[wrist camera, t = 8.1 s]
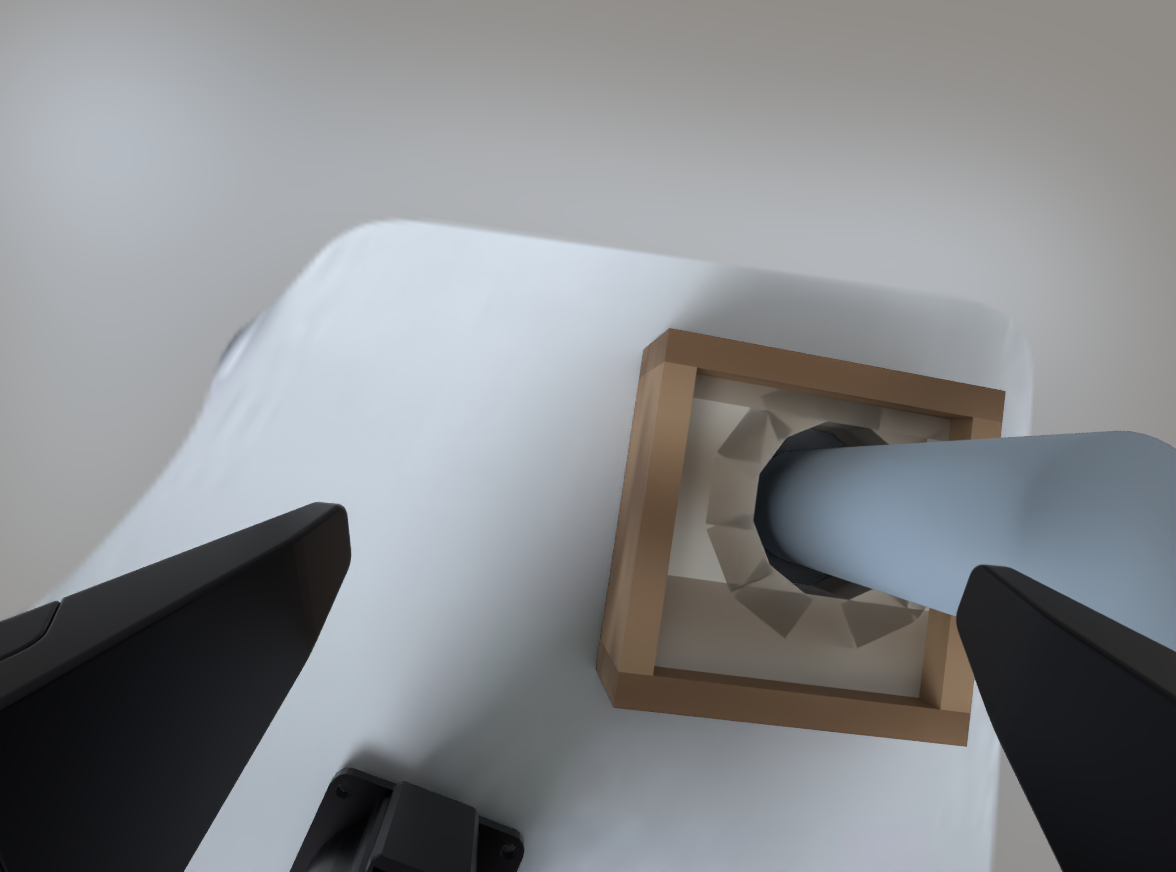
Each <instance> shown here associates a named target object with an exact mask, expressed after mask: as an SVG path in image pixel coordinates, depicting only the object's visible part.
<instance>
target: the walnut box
mask: <svg viewBox="0 0 1176 872" xmlns="http://www.w3.org/2000/svg"><path fill="white" fill-rule="evenodd" d="M1004 400H1005V391H1002V390H997V389H991V388H986V387H981V386H975V385H970V384H965V383H959V382H954V381H949V380H943V379H938V378H933V377H927V376H922V375H917V374H911V373H906V372H901V371H895V370H890V369H885V368H879V367H874V366H869V365H863V364H858V363H853V362H847V361H842V360H836V359H831V358H826V357H820V356H815V355H810V354H804V353H799V352H794V351H788V350H783V349H778V348H772V347H767V346H762V345H756V344H751V343H746V342H740V341H735V340H730V339H724V338H719V337H714V336H708V335H703V334H698V333H692V332H687V331H682V330H676V329H671V328H669V329H668V330H667V331H666V332H664V333H663V334H662V335H661V336H660V337H658V338H657V339H656V340H655V341H654V342H652V343H651V344H650V345H649V346H648V347H646V348H645V349H644V350H643V357H642V364H641V370H640V377H639V384H638V390H637V397H636V404H635V410H634V417H633V424H632V430H631V437H630V444H629V450H628V457H627V464H626V471H625V477H624V484H623V491H622V497H621V504H620V511H619V517H618V524H617V531H616V537H615V544H614V551H613V557H612V564H611V571H610V577H609V584H608V591H607V597H606V604H605V611H604V617H603V624H602V631H601V638H600V644H599V651H598V658H597V664H596V670H597V673H598V675H599V677H600V679H601V681H602V683H603V686H604V688H605V690H606V692H607V694H608V696H609V699H610V701H611V703H612V705H613V707H614V708H622V709H631V710H640V711H649V712H658V713H667V714H676V715H685V716H694V717H704V718H713V719H722V720H731V721H740V722H749V723H758V724H767V725H776V726H785V727H794V728H803V729H812V730H821V731H830V732H839V733H848V734H857V735H866V736H875V737H884V738H893V739H902V740H912V741H921V742H930V743H939V744H948V745H957V746H966V747H967V740H968V730H969V721H970V712H971V703H972V694H973V685H974V675H973V672H972V669H971V666H970V664H969V661H968V658H967V655H966V652H965V650H964V647H963V644H962V641H961V639H960V636H959V633H958V630H957V625H956V616H953V615H950V614H947V613H944V612H941V611H938V610H935V609H932V608H929V607H926V606H923V605H920V604H917V603H914V602H911V601H908V600H905V599H901V598H898V597H895V596H892V595H889V594H886V593H883V592H880V591H877V590H874V589H871V588H868V587H865V586H862V585H859V584H856V583H853V582H850V581H847V580H844V579H841V578H838V577H835V576H832V577H829V578H827V579H825V580H822V581H820V582H818V583H816V584H813V585H804V584H797V583H791V582H790V581H789V580H788V579H787V578H785V577H784V576H783V575H782V574H781V573H779V572H778V571H777V570H776V569H774V568H773V567H772V566H771V565H770V564H769V561H768V558H767V556H766V553H765V550H764V548H763V545H762V543H761V540H760V537H759V535H758V532H757V530H756V527H755V524H754V522H753V518H754V510H755V503H756V495H757V488H758V481H759V474H760V472H761V471H762V470H763V468H764V467H765V466H766V464H767V463H768V462H769V460H770V459H771V458H772V457H773V455H774V454H775V453H776V451H777V450H778V449H779V447H780V446H781V445H782V443H783V442H784V441H785V439H786V438H787V437H789V436H792V435H794V434H797V433H799V432H802V431H804V430H807V429H812V430H818V431H824V432H830V433H832V434H833V435H834V436H835V437H837V438H838V439H839V440H840V441H841V442H842V443H844V444H845V445H846V446H847V447H858V446H875V445H892V444H908V443H925V442H942V441H958V440H975V439H992V438H1000V437H1001V428H1002V419H1003V410H1004Z"/></svg>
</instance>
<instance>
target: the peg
mask: <svg viewBox="0 0 1176 872" xmlns="http://www.w3.org/2000/svg"><path fill="white" fill-rule="evenodd" d="M753 522H754V524H755V527H756V530H757V532H758V535H759V537H760V540H761V543H762V545H763V547H764V548H765V549H767V550H768V551H769V552H770V553H772V554H773V555H775V556H776V557H779V558H781V559H783V560H786V561H789V562H792V563H795V564H798V565H801V566H804V567H807V568H810V569H813V570H816V571H819V572H822V573H825V574H829V575H832V576H835V577H838V578H841V579H844V580H847V581H850V582H853V583H856V584H859V585H862V586H865V587H868V588H871V589H874V590H877V591H880V592H883V593H886V594H889V595H892V596H895V597H898V598H901V599H905V600H908V601H911V602H914V603H917V604H920V605H923V606H926V607H929V608H932V609H935V610H938V611H941V612H944V613H947V614H950V615H953V616H956V613H957V609H958V606H959V604H960V601H961V598H962V595H963V592H964V590H965V587H966V584H967V581H968V578H969V576H970V573H971V571H972V570H973V569H974V567H976V566H978V565H981V564H986V565H996V566H1006V567H1010V568H1013V569H1015V570H1017V571H1019V572H1021V573H1022V574H1024V575H1026V576H1028V577H1030V578H1032V579H1034V580H1036V581H1038V582H1040V583H1042V584H1044V585H1046V586H1048V587H1050V588H1052V589H1054V590H1056V591H1058V592H1060V593H1062V594H1064V595H1066V596H1068V597H1070V598H1072V599H1073V600H1075V601H1077V602H1079V603H1081V604H1083V605H1085V606H1087V607H1089V608H1091V609H1093V610H1095V611H1097V612H1099V613H1101V614H1103V615H1105V616H1107V617H1109V618H1111V619H1113V620H1115V621H1117V622H1119V623H1121V624H1123V625H1124V626H1126V627H1128V628H1130V629H1132V630H1134V631H1136V632H1138V633H1140V634H1142V635H1144V636H1146V637H1148V638H1150V639H1152V640H1154V641H1156V642H1158V643H1160V644H1162V645H1164V646H1166V647H1168V648H1170V649H1172V650H1174V651H1175V652H1176V449H1175V448H1173V447H1172V446H1171V445H1169V444H1167V443H1165V442H1163V441H1161V440H1159V439H1157V438H1154V437H1151V436H1148V435H1145V434H1141V433H1136V432H1130V431H1108V432H1092V433H1075V434H1059V435H1042V436H1025V437H1008V438H992V439H975V440H958V441H942V442H925V443H908V444H892V445H875V446H858V447H841V448H825V449H808V450H794V451H788V452H784V453H782V454H779V455H777V456H775V457H774V458H772V459H771V460H769V462H768V463H767V464H766V466H765V467H764V468H763V470H762V471H761V472H760V474H759V481H758V488H757V495H756V503H755V510H754V518H753Z"/></svg>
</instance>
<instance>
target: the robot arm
mask: <svg viewBox="0 0 1176 872" xmlns="http://www.w3.org/2000/svg"><path fill="white" fill-rule="evenodd" d="M350 562H351V545H350V535H349V525H348V516H347V512H346V509H345V508H344V507H343V506H342V505H340V504H334V503H324V502H315V503H311V504H309V505H306V506H304V507H301V508H298V509H296V510H293V511H290V512H288V513H285V514H283V515H280V516H277V517H275V518H272V519H269V520H267V521H264V522H262V523H259V524H256V525H254V526H251V527H248V528H246V529H243V530H241V531H238V532H235V533H233V534H230V535H227V536H225V537H222V538H220V539H217V540H214V541H212V542H209V543H206V544H204V545H201V546H199V547H196V548H193V549H191V550H188V551H185V552H183V553H180V554H178V555H175V556H172V557H170V558H167V559H164V560H162V561H159V562H157V563H154V564H151V565H149V566H146V567H143V568H141V569H138V570H136V571H133V572H130V573H128V574H125V575H122V576H120V577H117V578H115V579H112V580H109V581H107V582H104V583H101V584H99V585H96V586H94V587H91V588H88V589H86V590H83V591H80V592H78V593H75V594H73V595H70V596H67V597H65V598H63V599H62V601H61V603H60V602H59V601H54V602H51V603H48V604H46V605H43V606H41V607H38V608H35V609H33V610H30V611H28V612H25V613H22V614H20V615H17V616H14V617H11V618H9V619H6V620H3V621H1V622H0V872H184V870H185V869H186V867H187V865H188V863H189V862H190V860H191V858H192V857H193V855H194V853H195V852H196V850H197V848H198V846H199V845H200V843H201V841H202V840H203V838H204V836H205V834H206V833H207V831H208V829H209V828H210V826H211V824H212V822H213V821H214V819H215V817H216V816H217V814H218V812H219V811H220V809H221V807H222V805H223V804H224V802H225V800H226V799H227V797H228V795H229V793H230V792H231V790H232V788H233V787H234V785H235V783H236V781H237V780H238V778H239V776H240V775H241V773H242V771H243V770H244V768H245V766H246V764H247V763H248V761H249V759H250V758H251V756H252V754H253V752H254V751H255V749H256V747H257V746H258V744H259V742H260V740H261V739H262V737H263V735H264V734H265V732H266V730H267V729H268V727H269V725H270V723H271V722H272V720H273V718H274V717H275V715H276V713H277V711H278V710H279V708H280V706H281V705H282V703H283V701H284V699H285V698H286V696H287V694H288V693H289V691H290V689H291V688H292V686H293V684H294V682H295V681H296V679H297V677H298V676H299V674H300V672H301V670H302V669H303V667H304V665H305V663H306V661H307V660H308V658H309V656H310V654H311V652H312V650H313V648H314V646H315V643H316V641H317V639H318V637H319V635H320V632H321V630H322V628H323V626H324V623H325V621H326V619H327V616H328V614H329V612H330V610H331V607H332V605H333V603H334V601H335V598H336V596H337V594H338V592H339V589H340V587H341V585H342V583H343V580H344V578H345V576H346V574H347V571H348V569H349V566H350ZM956 625H957V630H958V633H959V636H960V639H961V641H962V644H963V647H964V650H965V652H966V655H967V658H968V661H969V664H970V666H971V669H972V672H973V675H974V677H975V680H976V683H977V686H978V688H979V691H980V694H981V697H982V700H983V702H984V705H985V708H986V711H987V713H988V716H989V718H990V721H991V723H992V726H993V728H994V731H995V733H996V735H997V737H998V739H999V742H1000V744H1001V746H1002V748H1003V750H1004V752H1005V754H1006V756H1007V758H1008V760H1009V763H1010V764H1011V767H1012V769H1013V771H1014V773H1015V775H1016V777H1017V779H1018V781H1019V783H1020V785H1021V787H1022V789H1023V791H1024V794H1025V796H1026V798H1027V800H1028V802H1029V804H1030V806H1031V808H1032V810H1033V812H1034V814H1035V816H1036V818H1037V820H1038V822H1039V824H1040V827H1041V829H1042V831H1043V833H1044V835H1045V837H1046V839H1047V841H1048V843H1049V845H1050V847H1051V849H1052V851H1053V853H1054V855H1055V857H1056V860H1057V862H1058V864H1059V866H1060V868H1061V870H1062V872H1176V652H1175V651H1174V650H1172V649H1170V648H1168V647H1166V646H1164V645H1162V644H1160V643H1158V642H1156V641H1154V640H1152V639H1150V638H1148V637H1146V636H1144V635H1142V634H1140V633H1138V632H1136V631H1134V630H1132V629H1130V628H1128V627H1126V626H1124V625H1123V624H1121V623H1119V622H1117V621H1115V620H1113V619H1111V618H1109V617H1107V616H1105V615H1103V614H1101V613H1099V612H1097V611H1095V610H1093V609H1091V608H1089V607H1087V606H1085V605H1083V604H1081V603H1079V602H1077V601H1075V600H1073V599H1072V598H1070V597H1068V596H1066V595H1064V594H1062V593H1060V592H1058V591H1056V590H1054V589H1052V588H1050V587H1048V586H1046V585H1044V584H1042V583H1040V582H1038V581H1036V580H1034V579H1032V578H1030V577H1028V576H1026V575H1024V574H1022V573H1021V572H1019V571H1017V570H1015V569H1013V568H1010V567H1006V566H996V565H986V564H981V565H978V566H976V567H974V569H973V570H972V571H971V573H970V576H969V578H968V581H967V584H966V587H965V590H964V592H963V595H962V598H961V601H960V604H959V606H958V609H957V613H956ZM342 782H349V783H350V784H351V785H352V786H353V791H351V792H344V791H342V790H341V789H340V786H339V784H340V783H342ZM507 843H509V844H513V845H514V846H515V849H514V850H513V851H511V852H504V851H503V850H502V849H501V848H502V847H503V845H505V844H507ZM523 854H524V841H523V837H522V835H521V834H520V832H518V831H517V830H515V829H513V828H510V827H507V826H505V825H502V824H499V823H497V822H494V821H491V820H489V819H486V818H484V817H481V816H478V814H477V812H476V809H475V808H474V807H471V806H469V805H466V804H463V803H461V802H458V801H455V800H453V799H450V798H448V797H445V796H442V795H440V794H437V793H434V792H432V791H429V790H426V789H424V788H421V787H419V786H416V785H413V784H411V783H408V782H403V783H400V784H397V785H396V784H394V783H391V782H388V781H386V780H383V779H381V778H378V777H375V776H373V775H370V774H367V773H365V772H362V771H359V770H357V769H353V768H345V769H342V770H340V771H339V772H337V773H336V775H335V776H334V777H333V779H332V781H331V783H330V784H329V787H328V789H327V791H326V793H325V795H324V798H323V800H322V802H321V804H320V806H319V808H318V811H317V813H316V815H315V817H314V819H313V822H312V824H311V826H310V828H309V830H308V833H307V835H306V837H305V839H304V841H303V844H302V846H301V848H300V850H299V852H298V854H297V857H296V859H295V861H294V863H293V865H292V868H291V870H290V872H517V870H518V868H519V865H520V863H521V860H522V858H523Z"/></svg>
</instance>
